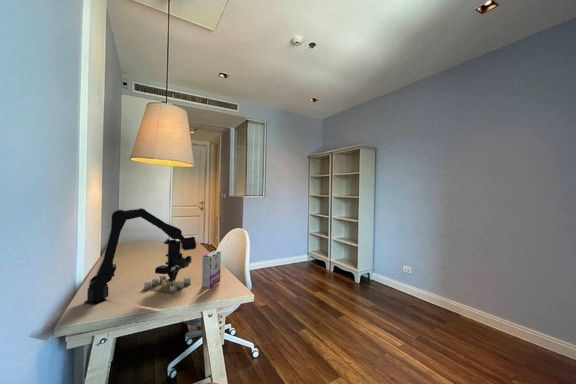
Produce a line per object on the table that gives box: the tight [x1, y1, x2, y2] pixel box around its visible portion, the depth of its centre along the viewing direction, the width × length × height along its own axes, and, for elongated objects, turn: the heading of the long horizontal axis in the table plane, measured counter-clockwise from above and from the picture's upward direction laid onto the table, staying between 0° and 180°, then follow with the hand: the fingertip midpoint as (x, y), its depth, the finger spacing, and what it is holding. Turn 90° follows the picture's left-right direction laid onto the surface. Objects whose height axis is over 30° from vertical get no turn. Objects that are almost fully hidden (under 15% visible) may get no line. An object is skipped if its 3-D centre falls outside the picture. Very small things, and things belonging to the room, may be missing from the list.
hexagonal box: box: [162, 278, 174, 289], centre depth 116 cm, size 5×6×3 cm
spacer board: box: [141, 274, 192, 295], centre depth 113 cm, size 20×18×4 cm
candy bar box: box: [201, 250, 222, 289], centre depth 123 cm, size 11×5×16 cm, turn 170°
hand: (173, 282), depth 120 cm, fingers closed
